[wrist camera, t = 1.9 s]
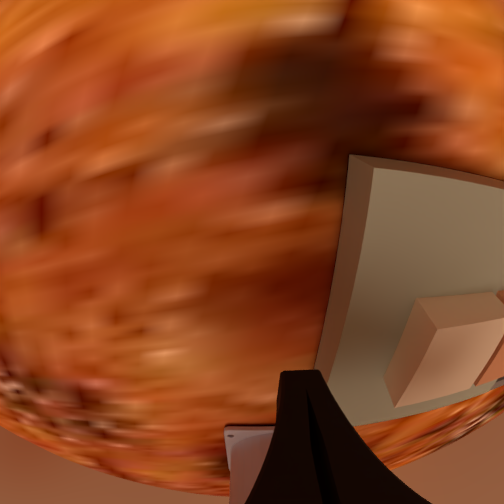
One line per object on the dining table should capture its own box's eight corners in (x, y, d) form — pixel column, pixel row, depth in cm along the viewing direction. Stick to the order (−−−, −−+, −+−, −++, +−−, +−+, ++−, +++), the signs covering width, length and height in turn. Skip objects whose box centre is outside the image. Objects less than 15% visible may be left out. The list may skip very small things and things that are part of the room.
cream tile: (455, 363, 13) (469, 388, 11) (382, 377, 13) (394, 407, 11) (491, 291, 11) (513, 315, 9) (415, 298, 11) (437, 329, 9)
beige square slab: (476, 370, 18) (488, 391, 16) (305, 399, 18) (310, 431, 15) (549, 194, 11) (575, 209, 9) (349, 154, 11) (374, 167, 8)
